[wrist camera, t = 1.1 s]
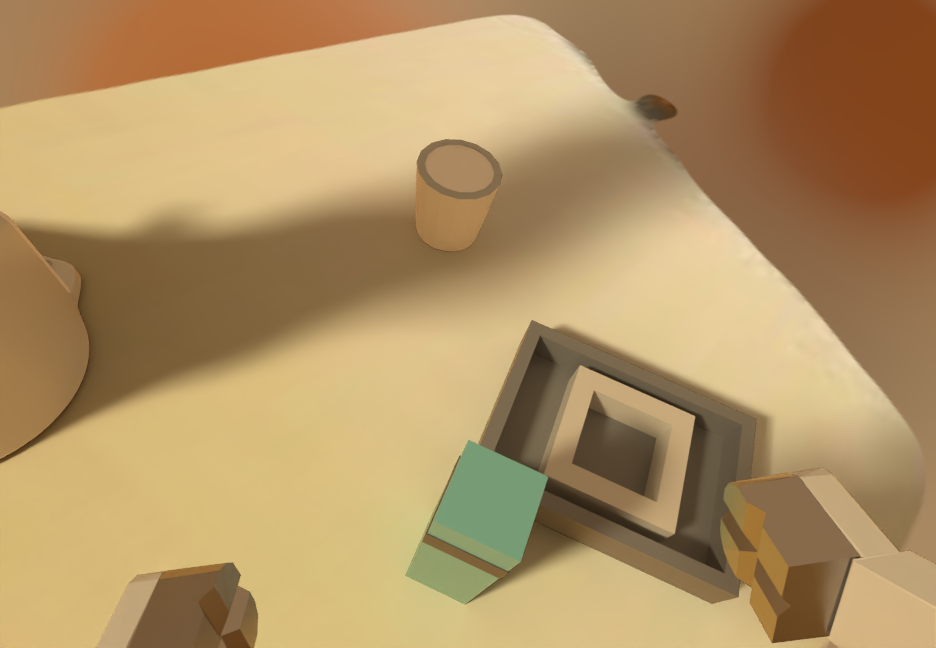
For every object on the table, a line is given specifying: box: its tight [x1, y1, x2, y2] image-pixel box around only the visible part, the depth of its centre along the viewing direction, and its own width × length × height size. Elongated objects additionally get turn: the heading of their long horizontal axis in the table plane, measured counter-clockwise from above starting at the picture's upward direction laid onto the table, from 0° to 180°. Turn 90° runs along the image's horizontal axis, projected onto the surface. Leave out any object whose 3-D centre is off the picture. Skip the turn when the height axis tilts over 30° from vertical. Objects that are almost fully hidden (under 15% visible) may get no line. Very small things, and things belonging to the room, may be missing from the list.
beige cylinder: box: [415, 139, 502, 251], centre depth 48 cm, size 7×7×7 cm
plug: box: [405, 440, 548, 604], centre depth 31 cm, size 4×4×13 cm
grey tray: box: [478, 320, 756, 604], centre depth 40 cm, size 18×13×3 cm
